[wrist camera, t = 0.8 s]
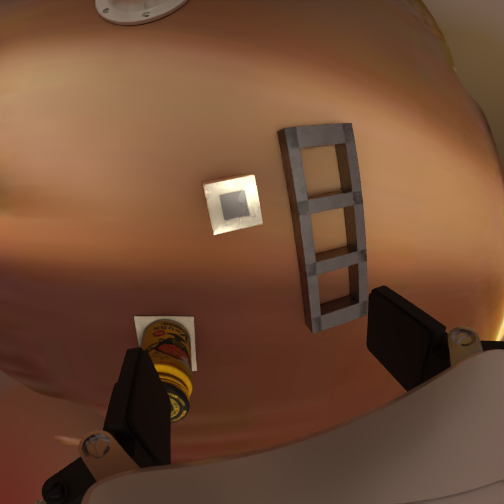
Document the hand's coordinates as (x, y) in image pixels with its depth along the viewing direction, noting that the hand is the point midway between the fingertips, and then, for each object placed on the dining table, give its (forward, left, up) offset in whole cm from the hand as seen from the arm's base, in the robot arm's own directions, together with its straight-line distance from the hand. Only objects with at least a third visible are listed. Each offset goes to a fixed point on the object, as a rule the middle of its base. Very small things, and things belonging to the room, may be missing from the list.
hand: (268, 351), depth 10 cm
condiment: (+12, -10, -21) cm, 26 cm away
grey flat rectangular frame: (+2, +12, -21) cm, 24 cm away
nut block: (-4, +1, -21) cm, 21 cm away
